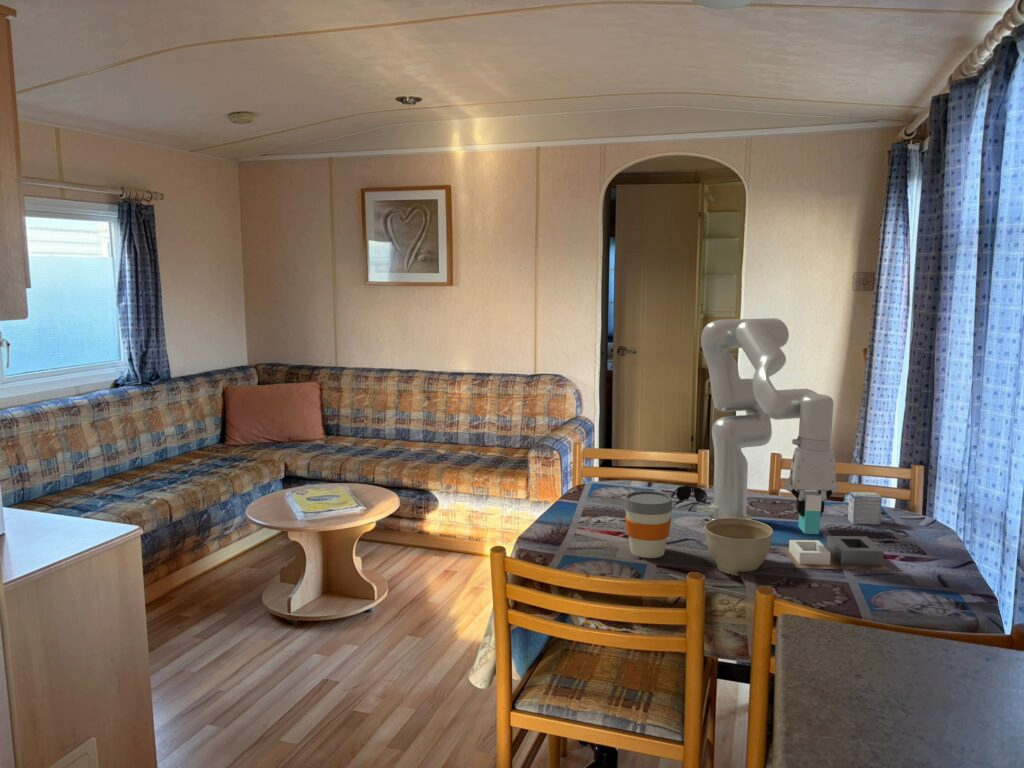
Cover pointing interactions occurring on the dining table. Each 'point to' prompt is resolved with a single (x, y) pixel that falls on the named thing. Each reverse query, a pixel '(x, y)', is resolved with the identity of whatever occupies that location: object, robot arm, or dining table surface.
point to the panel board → (832, 565)
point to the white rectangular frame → (809, 552)
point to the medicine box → (864, 508)
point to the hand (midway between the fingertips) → (809, 514)
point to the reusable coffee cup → (647, 522)
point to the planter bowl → (738, 543)
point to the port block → (855, 551)
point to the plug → (811, 513)
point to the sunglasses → (685, 493)
